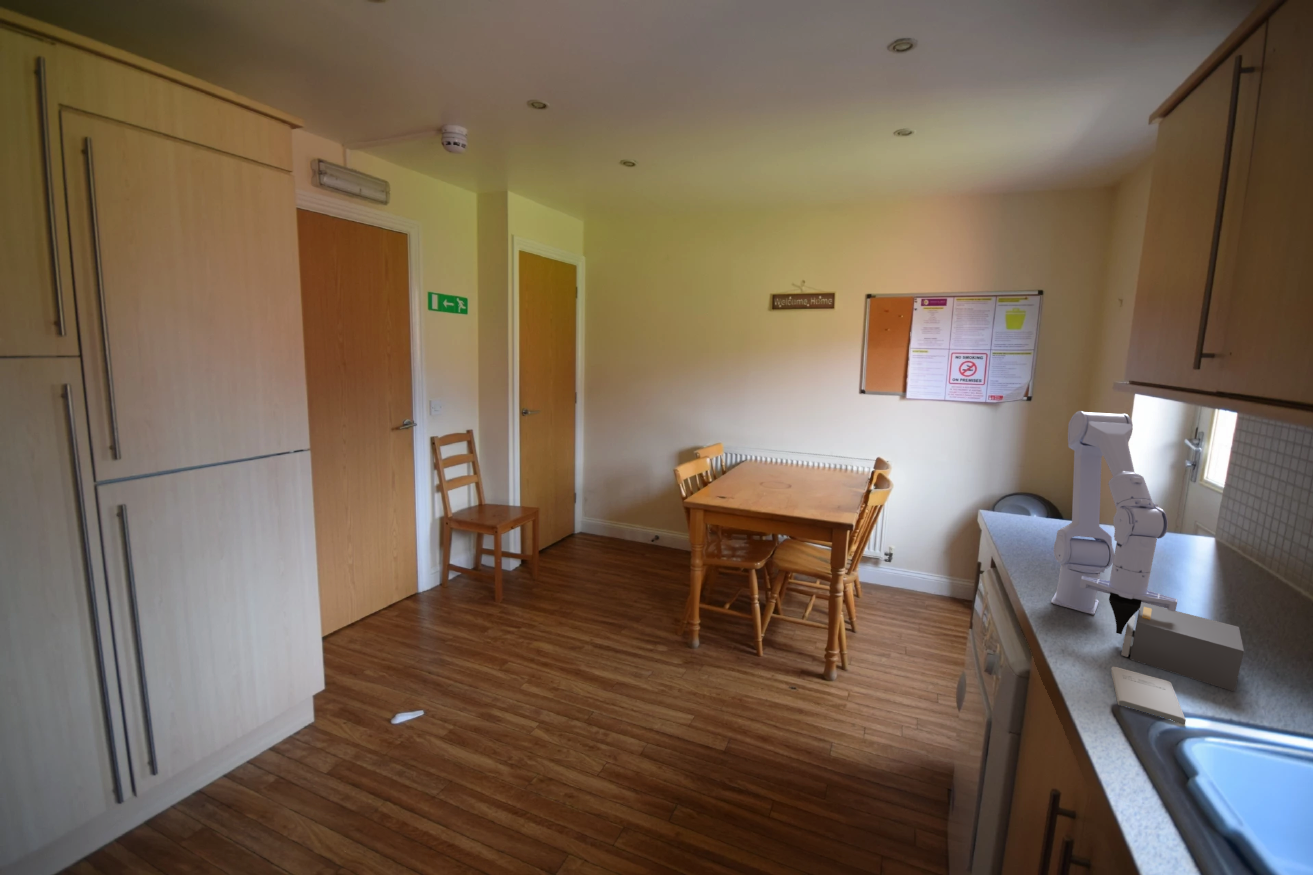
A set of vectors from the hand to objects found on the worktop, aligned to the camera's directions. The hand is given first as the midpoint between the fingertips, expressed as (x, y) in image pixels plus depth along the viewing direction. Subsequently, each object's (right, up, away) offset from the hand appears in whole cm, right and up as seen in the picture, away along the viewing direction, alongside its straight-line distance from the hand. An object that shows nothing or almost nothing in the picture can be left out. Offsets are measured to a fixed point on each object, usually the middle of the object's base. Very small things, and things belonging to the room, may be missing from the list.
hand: (1119, 631), depth 112 cm
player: (+7, -4, -6) cm, 10 cm away
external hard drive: (-9, -6, -17) cm, 20 cm away
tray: (+6, -3, -5) cm, 8 cm away
